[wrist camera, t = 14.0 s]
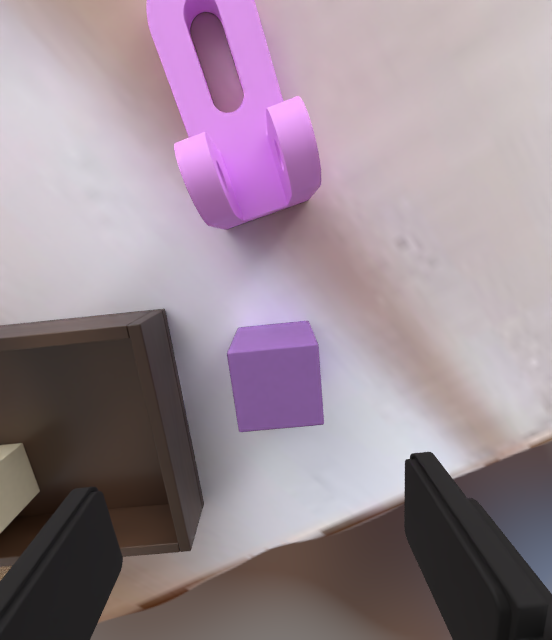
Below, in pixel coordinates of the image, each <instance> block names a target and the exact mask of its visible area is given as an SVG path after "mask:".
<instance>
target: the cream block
mask: <svg viewBox="0 0 552 640" xmlns="http://www.w3.org/2000/svg"><path fill="white" fill-rule="evenodd" d="M39 492H40V490H39V487H38V484H37V481H36V479H35V476H34V473H33V470H32V468H31V465H30V462H29V459H28V457H27V454H26V451H25V448H24V446H23V443H18V444H7V445H0V533H1V532H2V531H3V530H4V529H5V528H6V527H7V526H8V525H9V524H10V523H11V522H12V521H13V519H14V518H15V517H16V516H17V515H18V514H19V513H20V512H21V511H22V510H23V509H24V508H25V507H26V506H27V505H28V503H29V502H30V501H31V500H32V499H33V498H34V497H35V496H36V495H37V494H38V493H39Z"/></svg>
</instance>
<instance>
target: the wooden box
mask: <svg viewBox="0 0 552 640" xmlns="http://www.w3.org/2000/svg"><path fill="white" fill-rule="evenodd" d="M18 443H23V446H24V448H25V451H26V454H27V457H28V459H29V462H30V465H31V468H32V470H33V473H34V476H35V479H36V481H37V484H38V487H39V490H40V492H39V493H38V494H37V495H36V496H35V497H34V498H33V499H32V500H31V501H30V502H29V503H28V505H27V506H26V507H25V508H24V509H23V510H22V511H21V512H20V513H19V514H18V515H17V516H16V517H15V518H14V519H13V521H12V522H11V523H10V524H9V525H8V526H7V527H6V528H5V529H4V530H3V531H2V532H1V533H0V567H2V566H13V565H14V563H15V562H16V561H17V560H18V558H19V557H20V556H21V555H22V553H23V552H24V551H25V549H26V548H27V547H28V546H29V544H30V543H31V542H32V540H33V539H34V538H35V537H36V535H37V534H38V533H39V532H40V530H41V529H42V528H43V526H44V525H45V524H46V523H47V521H48V520H49V519H50V517H51V516H52V515H53V514H54V512H55V511H56V510H57V509H58V507H59V506H60V505H61V503H62V502H63V501H64V500H65V498H66V497H67V496H68V495H69V493H70V492H71V491H72V490H73V489H75V488H84V487H96V488H97V489H98V491H101V492H102V493H103V495H104V498H105V501H106V505H107V508H108V511H109V514H110V518H111V521H112V524H113V527H114V531H115V534H116V537H117V540H118V544H119V547H120V550H121V553H122V557H124V556H137V555H149V554H161V553H173V552H180V551H181V552H183V551H191V548H192V545H193V541H194V537H195V534H196V530H197V526H198V523H199V519H200V516H201V512H202V508H203V505H204V502H203V497H202V492H201V487H200V482H199V477H198V472H197V467H196V462H195V457H194V452H193V447H192V442H191V437H190V432H189V427H188V422H187V417H186V412H185V407H184V402H183V397H182V392H181V387H180V382H179V377H178V372H177V367H176V362H175V357H174V352H173V347H172V342H171V337H170V332H169V327H168V322H167V317H166V312H165V309H158V310H148V311H138V312H129V313H119V314H109V315H99V316H89V317H80V318H70V319H60V320H50V321H40V322H31V323H21V324H11V325H1V326H0V445H7V444H18Z"/></svg>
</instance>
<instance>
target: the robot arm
mask: <svg viewBox="0 0 552 640" xmlns="http://www.w3.org/2000/svg"><path fill="white" fill-rule="evenodd" d="M405 534H406V537H407V540H408V543H409V545H410V547H411V549H412V552H413V554H414V556H415V558H416V560H417V562H418V564H419V567H420V569H421V571H422V573H423V575H424V578H425V580H426V582H427V584H428V586H429V588H430V591H431V593H432V595H433V597H434V599H435V602H436V604H437V606H438V608H439V610H440V612H441V615H442V617H443V619H444V621H445V623H446V625H447V628H448V630H449V632H450V634H451V636H452V638H453V640H552V594H551V593H550V591H549V590H548V589H547V588H546V586H545V585H544V584H543V583H542V581H541V580H540V579H539V578H538V576H537V575H536V574H535V573H534V571H533V570H532V569H531V568H530V567H529V565H528V564H527V563H526V561H525V560H524V559H523V558H522V556H521V555H520V554H519V553H518V552H517V550H516V549H515V547H514V546H513V545H512V544H511V542H510V541H509V540H508V539H507V537H506V536H505V535H504V534H503V532H502V531H501V530H500V529H499V528H498V526H497V525H496V524H495V522H494V521H493V520H492V519H491V517H490V516H489V515H488V514H487V512H486V511H485V510H484V509H483V507H482V506H481V505H480V504H479V503H478V502H477V501H476V500H474V499H473V498H467V497H466V496H465V495H464V493H463V492H462V491H461V489H460V488H459V487H458V485H457V484H456V483H455V482H454V480H453V479H452V478H451V476H450V475H449V474H448V472H447V471H446V470H445V468H444V467H443V466H442V465H441V463H440V462H439V461H438V459H437V458H436V457H435V455H434V454H433V453H431V452H423V453H413V454H411V456H410V459H407V460H406V461H405ZM122 562H123V558H122V553H121V550H120V547H119V544H118V540H117V537H116V534H115V531H114V527H113V524H112V521H111V518H110V514H109V511H108V508H107V505H106V501H105V498H104V495H103V493H102V492H101V491H98V489H97V488H96V487H84V488H75V489H73V490H72V491H71V492H70V493H69V495H68V496H67V497H66V498H65V500H64V501H63V502H62V503H61V505H60V506H59V507H58V509H57V510H56V511H55V512H54V514H53V515H52V516H51V517H50V519H49V520H48V521H47V523H46V524H45V525H44V526H43V528H42V529H41V530H40V532H39V533H38V534H37V535H36V537H35V538H34V539H33V540H32V542H31V543H30V544H29V546H28V547H27V548H26V549H25V551H24V552H23V553H22V555H21V556H20V557H19V558H18V560H17V561H16V562H15V563H14V565H13V566H12V567H11V569H10V570H9V571H8V572H7V574H6V575H5V576H4V577H3V579H2V580H1V581H0V640H90V638H91V636H92V634H93V632H94V629H95V627H96V625H97V623H98V620H99V618H100V616H101V614H102V611H103V609H104V607H105V605H106V602H107V600H108V598H109V596H110V594H111V591H112V589H113V587H114V585H115V582H116V580H117V578H118V576H119V573H120V571H121V568H122Z"/></svg>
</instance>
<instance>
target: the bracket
mask: <svg viewBox="0 0 552 640" xmlns="http://www.w3.org/2000/svg"><path fill="white" fill-rule="evenodd" d="M202 12H210V13H213V14H214V15H216V16H217V17H218V18H219V20H220V21H221V23H222V26H223V29H224V32H225V35H226V38H227V42H228V45H229V48H230V51H231V54H232V57H233V61H234V64H235V67H236V70H237V73H238V77H239V80H240V83H241V86H242V89H243V92H244V99H243V102H242V104H241V106H240V107H239V108H238V109H237V110H236V111H234V112H231V113H224V112H221V111H219V110H218V109H217V108H216V107H215V106H214V103H213V100H212V97H211V94H210V91H209V88H208V85H207V83H206V80H205V77H204V74H203V71H202V68H201V65H200V62H199V59H198V56H197V53H196V50H195V47H194V44H193V41H192V38H191V33H190V28H191V23H192V21H193V19H194V18H195V17H196V16H197V15H198V14H199V13H202ZM147 19H148V24H149V29H150V32H151V35H152V38H153V40H154V43H155V46H156V49H157V51H158V54H159V57H160V60H161V62H162V65H163V68H164V71H165V73H166V76H167V79H168V81H169V84H170V87H171V90H172V92H173V95H174V98H175V101H176V103H177V106H178V109H179V112H180V114H181V117H182V120H183V123H184V125H185V128H186V131H187V134H188V136H189V138H188V139H185V140H182V141H180V142H177V143H175V145H174V149H175V155H176V159H177V163H178V166H179V169H180V172H181V175H182V177H183V180H184V183H185V185H186V188H187V190H188V192H189V194H190V197H191V199H192V201H193V203H194V205H195V207H196V209H197V210H198V212H199V214H200V216H201V217H202V219H203V220H204V222H205V223H206V224H207V225H208V226H212V227H217V228H221V229H229V228H232V227H235V226H237V225H240V224H243V223H246V222H249V221H252V220H254V219H257V218H260V217H263V216H266V215H268V214H271V213H274V212H277V211H280V210H282V209H285V208H288V207H291V206H294V205H296V204H299V203H302V202H305V201H308V200H309V199H310V198H311V196H312V195H313V194H314V193H315V192H316V190H317V189H318V188H319V187H320V185H321V167H320V160H319V154H318V149H317V144H316V139H315V135H314V131H313V128H312V124H311V121H310V118H309V115H308V112H307V110H306V107H305V105H304V103H303V101H302V99H301V98H300V97H299V96H297V97H294V98H291V99H289V100H286V101H284V102H283V98H282V95H281V92H280V88H279V85H278V81H277V78H276V74H275V71H274V67H273V64H272V60H271V57H270V53H269V50H268V46H267V43H266V39H265V36H264V32H263V29H262V25H261V22H260V18H259V15H258V11H257V8H256V4H255V1H254V0H147Z"/></svg>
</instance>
